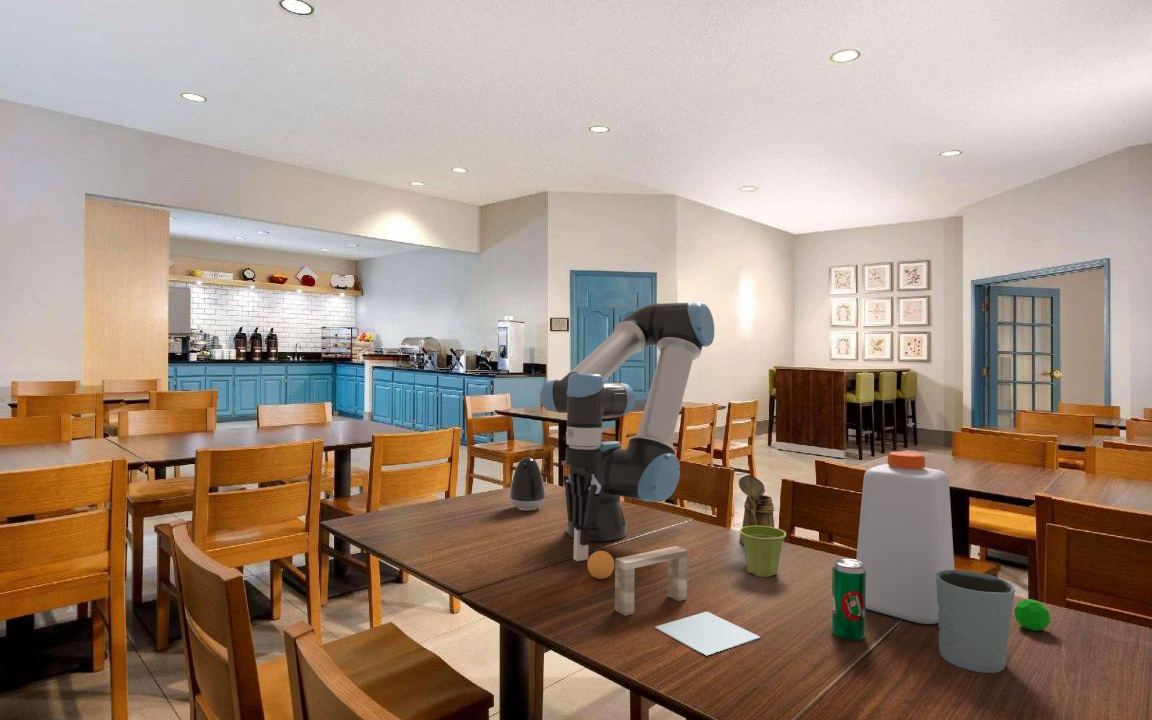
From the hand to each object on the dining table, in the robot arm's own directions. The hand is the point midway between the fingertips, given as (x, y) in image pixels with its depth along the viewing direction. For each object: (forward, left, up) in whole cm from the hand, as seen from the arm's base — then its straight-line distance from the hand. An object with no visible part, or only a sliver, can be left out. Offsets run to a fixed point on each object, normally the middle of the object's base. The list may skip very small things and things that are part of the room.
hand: (580, 559), depth 135 cm
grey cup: (+64, +29, -3) cm, 70 cm away
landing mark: (+36, +1, -3) cm, 36 cm away
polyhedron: (+64, +49, -3) cm, 81 cm away
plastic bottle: (+47, +40, -3) cm, 62 cm away
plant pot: (+21, +32, -3) cm, 38 cm away
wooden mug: (+7, +46, -3) cm, 47 cm away
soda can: (+49, +20, -3) cm, 53 cm away
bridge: (+22, +1, -3) cm, 22 cm away
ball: (+6, +1, 0) cm, 6 cm away
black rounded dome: (-52, +16, -3) cm, 55 cm away
